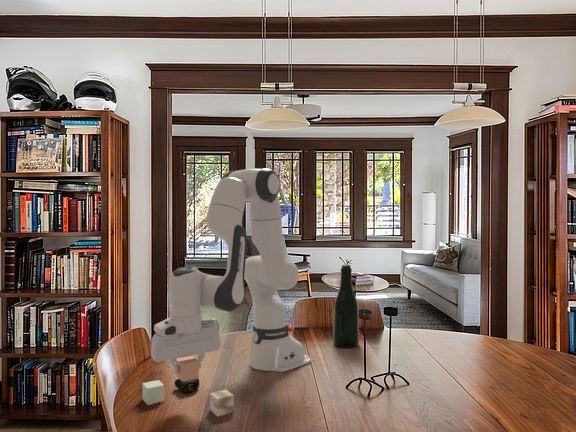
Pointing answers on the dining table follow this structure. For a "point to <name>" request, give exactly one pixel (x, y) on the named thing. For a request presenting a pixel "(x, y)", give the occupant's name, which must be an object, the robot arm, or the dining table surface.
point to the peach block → (188, 368)
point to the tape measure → (187, 385)
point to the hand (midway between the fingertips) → (187, 370)
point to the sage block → (153, 392)
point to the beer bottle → (346, 313)
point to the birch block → (221, 402)
